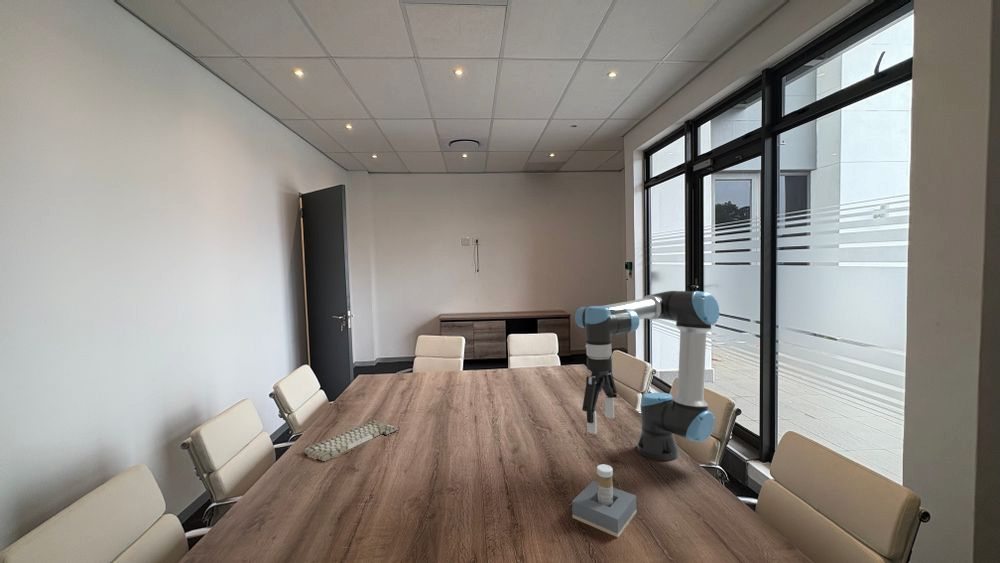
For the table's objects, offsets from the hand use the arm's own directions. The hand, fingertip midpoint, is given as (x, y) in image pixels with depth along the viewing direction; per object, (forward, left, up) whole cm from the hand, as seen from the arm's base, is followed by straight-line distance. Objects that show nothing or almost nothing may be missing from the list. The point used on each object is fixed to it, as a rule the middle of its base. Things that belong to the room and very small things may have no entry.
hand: (601, 424), depth 117 cm
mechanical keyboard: (+23, -107, -26) cm, 113 cm away
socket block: (+4, +2, -25) cm, 26 cm away
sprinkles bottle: (+4, +3, -25) cm, 25 cm away
